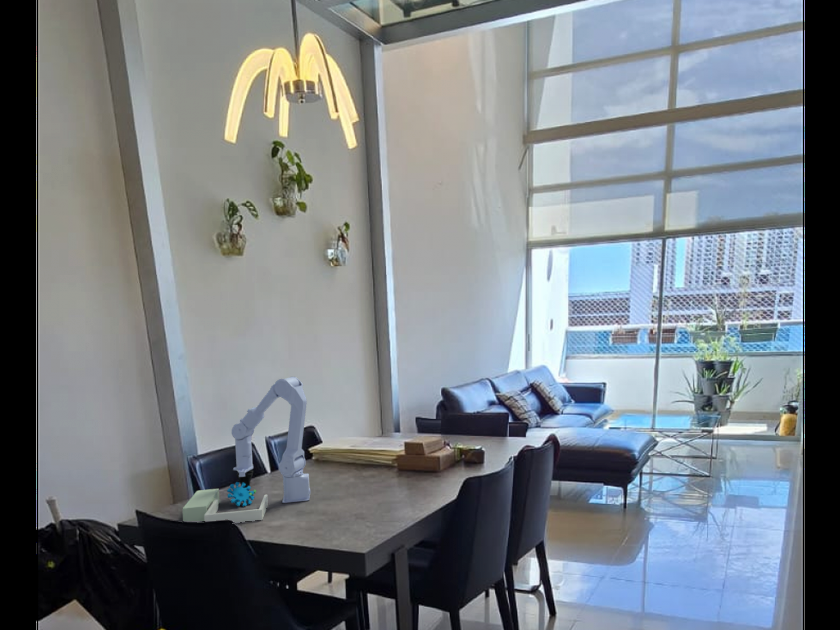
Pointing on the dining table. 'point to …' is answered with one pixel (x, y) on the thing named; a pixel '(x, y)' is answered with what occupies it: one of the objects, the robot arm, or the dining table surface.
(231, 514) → the shallow white tray
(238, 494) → the gear
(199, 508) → the pale green rounded block
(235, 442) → the robot arm
